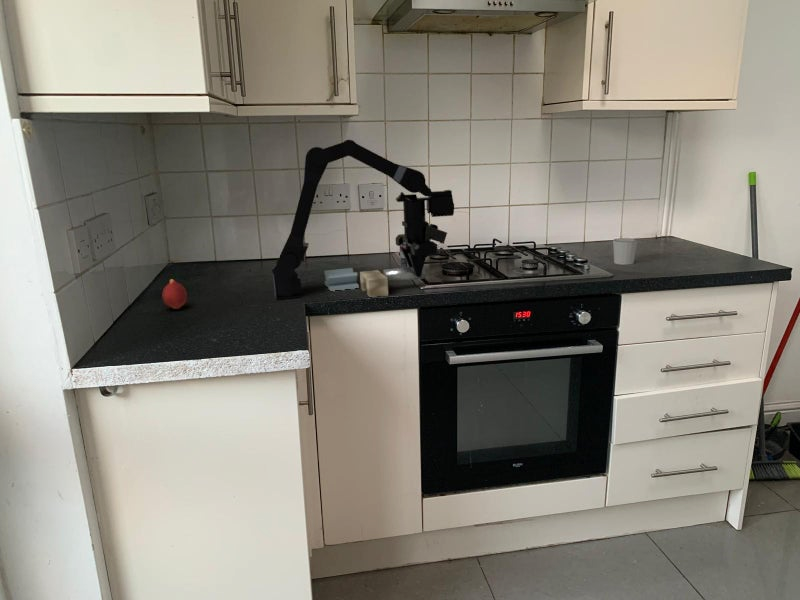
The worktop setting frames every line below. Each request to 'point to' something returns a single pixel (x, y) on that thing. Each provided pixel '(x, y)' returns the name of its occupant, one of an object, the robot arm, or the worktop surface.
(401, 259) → the supplement bottle
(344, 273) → the v block
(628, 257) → the grey cup
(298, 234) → the robot arm
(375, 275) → the beam
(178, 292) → the onion
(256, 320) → the worktop surface
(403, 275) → the axle
